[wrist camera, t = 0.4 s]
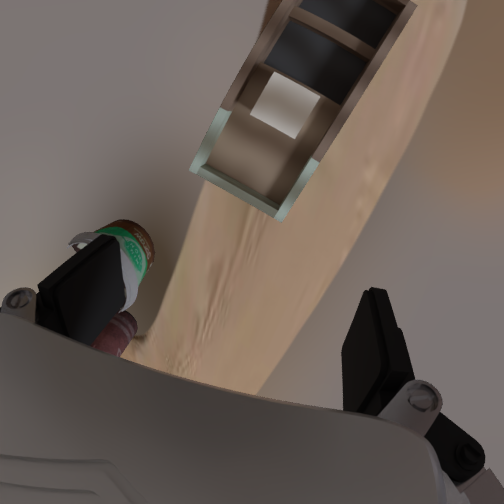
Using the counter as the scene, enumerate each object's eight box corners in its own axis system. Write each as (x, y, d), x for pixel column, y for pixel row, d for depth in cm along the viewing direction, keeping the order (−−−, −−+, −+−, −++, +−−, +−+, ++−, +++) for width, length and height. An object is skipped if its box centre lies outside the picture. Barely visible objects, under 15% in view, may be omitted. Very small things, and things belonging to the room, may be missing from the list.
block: (278, 75, 30) (274, 71, 26) (319, 97, 30) (320, 96, 26) (256, 113, 32) (249, 114, 28) (296, 135, 32) (294, 139, 29)
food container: (178, 262, 45) (148, 300, 37) (151, 278, 48) (121, 316, 39) (127, 195, 42) (86, 220, 33) (104, 217, 44) (64, 244, 36)
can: (136, 310, 52) (96, 364, 39) (140, 336, 55) (105, 390, 42) (108, 302, 52) (65, 352, 40) (113, 328, 55) (76, 378, 43)
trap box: (317, -34, 24) (317, -50, 20) (406, 15, 25) (417, 5, 21) (201, 162, 38) (188, 170, 34) (284, 209, 39) (281, 222, 35)
